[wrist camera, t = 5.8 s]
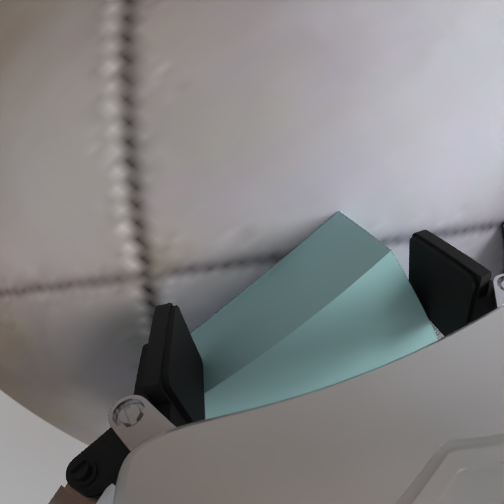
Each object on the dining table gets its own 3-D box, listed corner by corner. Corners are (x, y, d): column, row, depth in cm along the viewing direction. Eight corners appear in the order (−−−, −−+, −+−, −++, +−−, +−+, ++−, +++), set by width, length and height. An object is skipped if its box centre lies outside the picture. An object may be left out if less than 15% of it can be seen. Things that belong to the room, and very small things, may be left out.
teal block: (148, 363, 15) (139, 432, 11) (336, 208, 13) (391, 250, 9) (248, 422, 18) (258, 479, 14) (404, 311, 16) (447, 360, 12)
